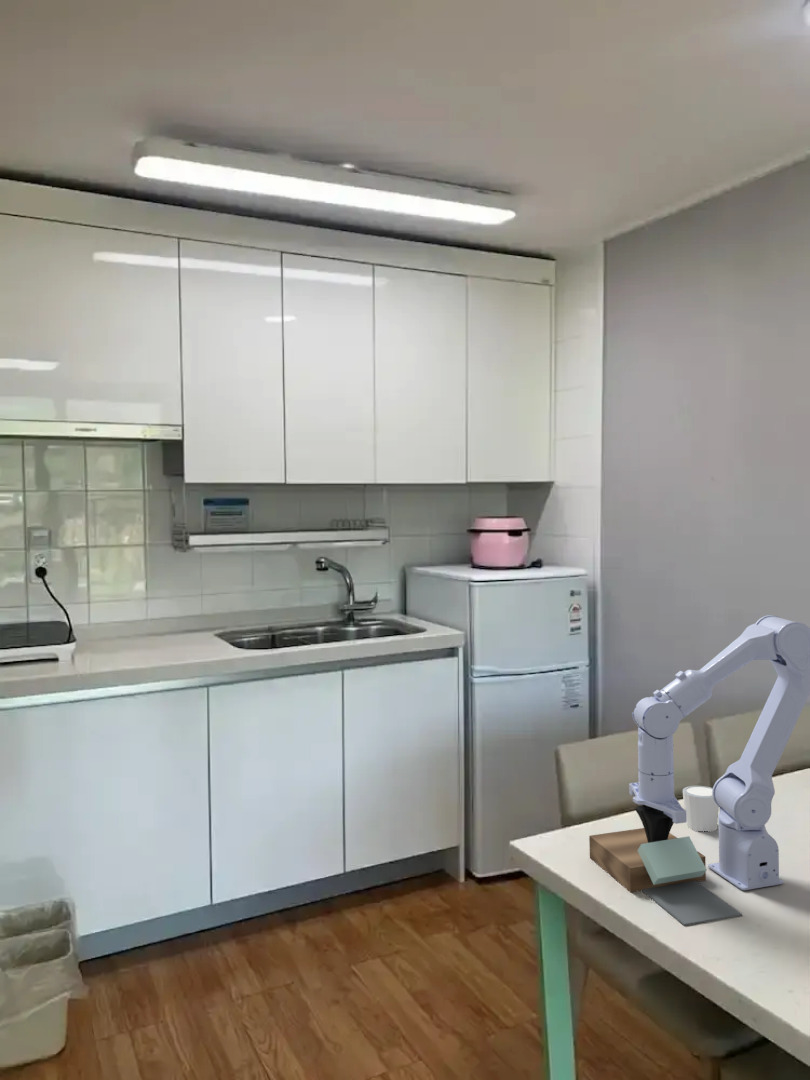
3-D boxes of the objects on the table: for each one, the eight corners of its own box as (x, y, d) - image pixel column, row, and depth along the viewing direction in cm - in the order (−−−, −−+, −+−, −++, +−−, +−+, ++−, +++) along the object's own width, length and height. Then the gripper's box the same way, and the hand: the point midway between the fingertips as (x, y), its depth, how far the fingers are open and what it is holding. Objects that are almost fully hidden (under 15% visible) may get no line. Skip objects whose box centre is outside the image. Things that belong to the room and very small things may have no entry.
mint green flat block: (702, 876, 135) (706, 869, 134) (653, 884, 133) (657, 878, 132) (684, 842, 140) (689, 836, 138) (637, 850, 137) (641, 844, 136)
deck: (705, 880, 138) (705, 856, 138) (630, 892, 135) (630, 868, 134) (659, 847, 152) (658, 825, 152) (589, 857, 148) (589, 835, 148)
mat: (742, 915, 126) (742, 913, 126) (684, 926, 124) (684, 924, 124) (695, 882, 138) (695, 880, 138) (642, 891, 135) (642, 889, 135)
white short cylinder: (714, 836, 156) (713, 799, 156) (678, 828, 160) (677, 792, 160) (725, 824, 162) (724, 789, 161) (689, 817, 166) (689, 782, 165)
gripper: (612, 760, 145) (614, 836, 145) (658, 787, 131) (659, 871, 131) (649, 756, 147) (650, 831, 147) (697, 782, 133) (698, 865, 133)
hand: (657, 850), depth 139 cm, fingers closed
